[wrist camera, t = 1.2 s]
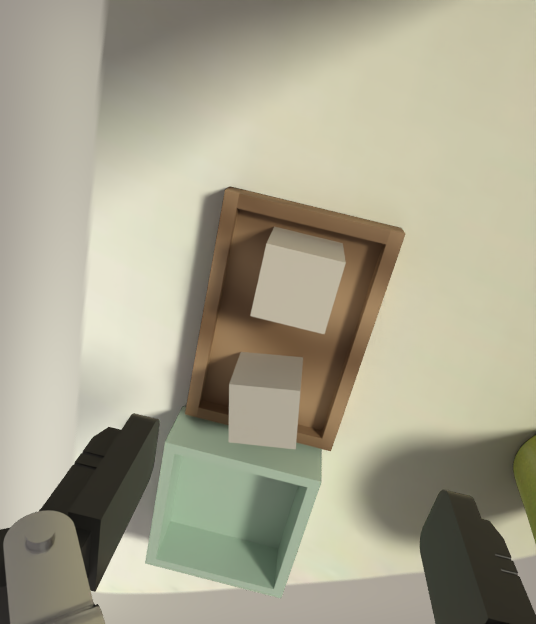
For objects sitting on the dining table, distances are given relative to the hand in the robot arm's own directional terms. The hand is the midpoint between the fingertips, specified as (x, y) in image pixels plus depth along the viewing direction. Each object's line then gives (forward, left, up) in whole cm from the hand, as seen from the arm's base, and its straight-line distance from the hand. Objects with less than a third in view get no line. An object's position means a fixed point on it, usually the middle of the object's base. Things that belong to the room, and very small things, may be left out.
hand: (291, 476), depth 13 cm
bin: (+16, -1, -17) cm, 23 cm away
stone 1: (-1, -1, -16) cm, 16 cm away
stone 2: (+7, -1, -16) cm, 17 cm away
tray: (+3, -1, -17) cm, 17 cm away
